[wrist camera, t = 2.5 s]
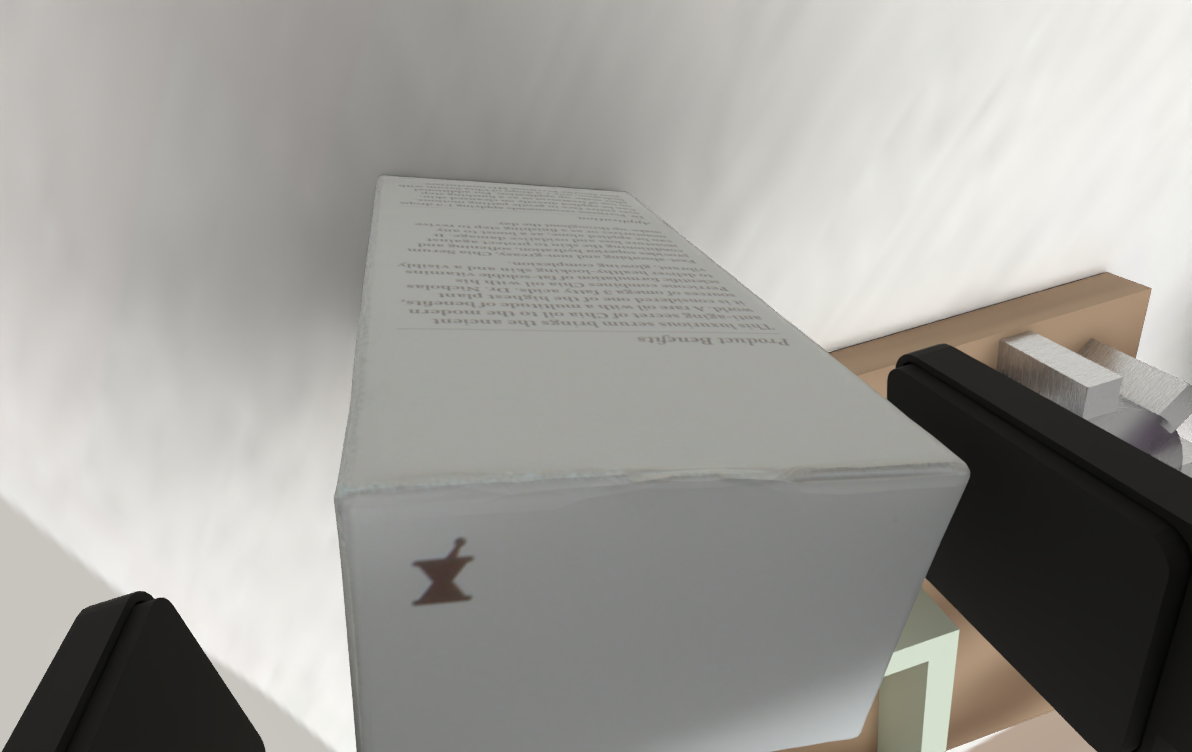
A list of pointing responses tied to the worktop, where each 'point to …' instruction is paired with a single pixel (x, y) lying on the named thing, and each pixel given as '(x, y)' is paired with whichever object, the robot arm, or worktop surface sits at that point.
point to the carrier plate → (1060, 314)
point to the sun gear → (1106, 392)
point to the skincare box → (610, 491)
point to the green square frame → (919, 682)
